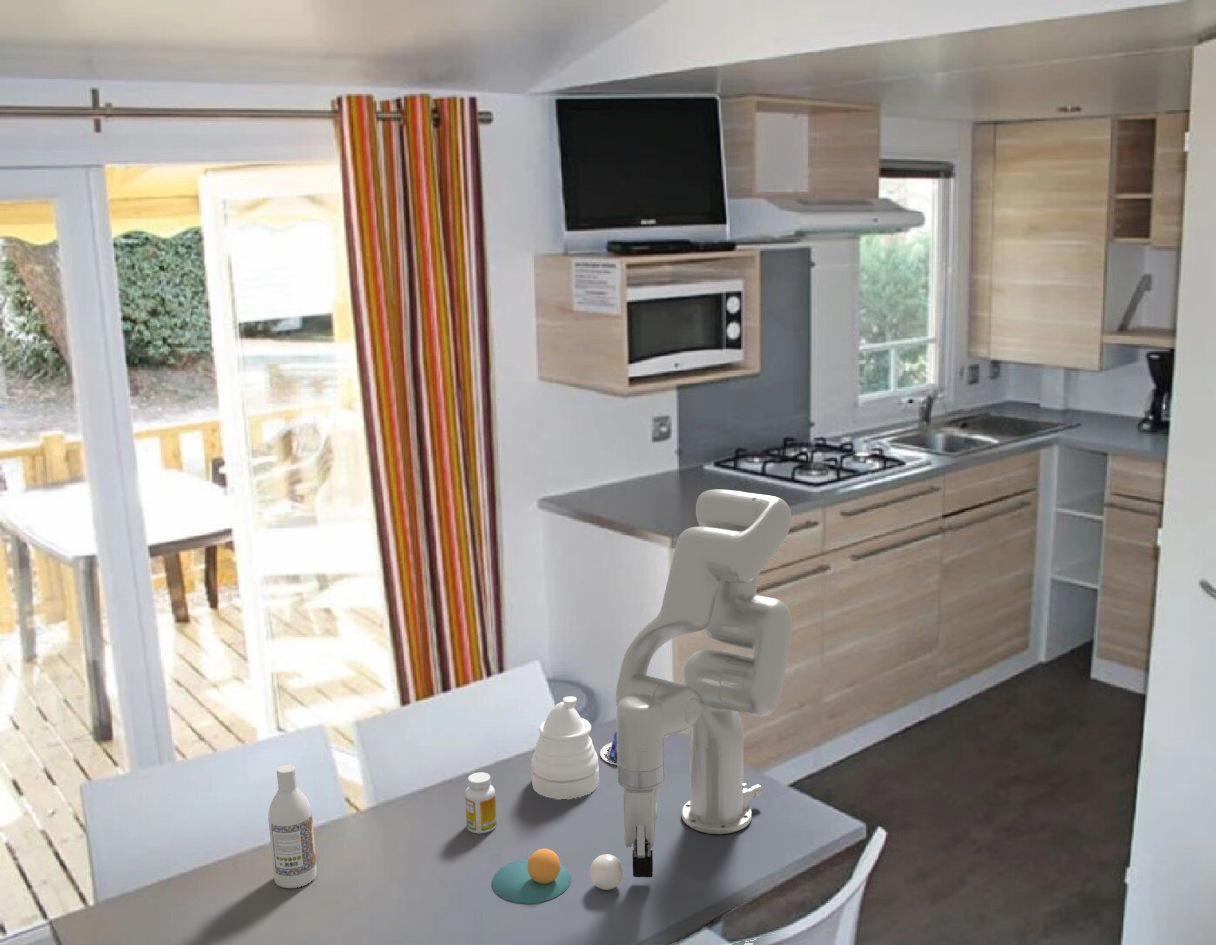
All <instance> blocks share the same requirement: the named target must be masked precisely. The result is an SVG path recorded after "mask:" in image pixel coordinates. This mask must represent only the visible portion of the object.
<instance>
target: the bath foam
mask: <svg viewBox="0 0 1216 945" xmlns="http://www.w3.org/2000/svg"><path fill="white" fill-rule="evenodd" d="M276 778H277V779H276V780H277V788H278V790H277V792H276V793H275V795H274V796H273V798H272V800H271V802H270V805H269V809H268V828H269V829H268V830H269V837H270V848H271V860H272V868H273V869H272V870H273V880H274V882H275V884H276V885H277V886H279V887H281V888H284V889H297V887H298V888H302V887H305V886H306V885H309V884H310V883H312V882H313V881H314V880H315V878H316V877H317V872H318V868H317V858H316V846H315V844H316V843H315V833H314V824H313V811H312V807H311V804H310V801H309V799H308V798H307V797H306V795H305V793H303V792H302V791H301V790H300V788H299V787H297V776H296V767H295V766H294V765H291V764H284V765H281V766H279V767H277V769H276ZM311 881H312V882H311ZM308 883H309V884H308ZM301 886H302V887H301Z"/></svg>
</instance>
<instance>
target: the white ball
mask: <svg viewBox="0 0 1216 945" xmlns="http://www.w3.org/2000/svg"><path fill="white" fill-rule="evenodd" d="M589 876H590V879H591V881H592V883H593V884H594V885H595V886H596V887H597V888H599V889H601V890H603V891H609V890H613V889H615V888H617V887H618V886H619V885H620V884H621V882H622V880H623V878H624V866H623V863H622V862H621V860H620V859H619V858H618V857H616V856H615V855H613V854H609V853H608V854H607V853H605V854H601V855H599V856H597V857H595V859H594V860H593V861H592V862H591V864H590V867H589Z"/></svg>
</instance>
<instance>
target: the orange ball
mask: <svg viewBox="0 0 1216 945" xmlns="http://www.w3.org/2000/svg"><path fill="white" fill-rule="evenodd" d="M528 859H529V860H528V864H527V869H528V873H529V875H530V877H531V878H532V879H533V880H534V881H535V882H537V883H541V884H547V883H550V882H552V881H554V880H555V879H556V878H557V876H558V875H559V873H560V869H561V865H562V864H561V860H560V857H559V856H558V854H557V853H556V852H554V850H552V849H549V848H540V849H537V850H535V851H534V852H532V854H530V856H529V858H528Z"/></svg>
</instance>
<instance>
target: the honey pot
mask: <svg viewBox="0 0 1216 945" xmlns="http://www.w3.org/2000/svg"><path fill="white" fill-rule="evenodd" d="M577 701H578V700H577V697H575V696H573V695H571V696H565V697H564V698H563V699H562V701H561V702H558V703H557V704H555V705H554V706H553V708H552V709H551V710H550V712H549V713H548V715H547V717H546V719H545V721H542V723H541V724H539V727H538V732H539V736H538V739H537V741H536V744H535V749H534V753H533V754H532V756H531V784H532V785H531V786H532V789H533V790H534V791H535V793H536V792H537V794H538V795H540V796H541V795H544V796H547V797H551V798H556V799H555V800H561V799H567V800H573V799H572V798H575V799H577V798H576V797H579V798H582V797H581V796H583V797H585V796H584V795H586V796H588V795H590V794H591V792H592V793H593V792H594V791H595V790H596V789H597V788H598V787H599V784H598V783H600V775H599V774H600V772H599V756H598V754H597V751H596V750H595V746H594V744H593V740H592V738H591V737H590V736H589V734H590V733H591V731H592V725H591V723H590V722H589V720H587V719H586V718H584V717H581V716H580V715H579V712H578V711H577V710H576V708H575V707H576V704H577ZM596 787H597V788H596ZM587 794H588V795H587ZM544 796H543V797H544ZM547 797H546V798H547ZM551 798H550V799H551Z"/></svg>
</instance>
